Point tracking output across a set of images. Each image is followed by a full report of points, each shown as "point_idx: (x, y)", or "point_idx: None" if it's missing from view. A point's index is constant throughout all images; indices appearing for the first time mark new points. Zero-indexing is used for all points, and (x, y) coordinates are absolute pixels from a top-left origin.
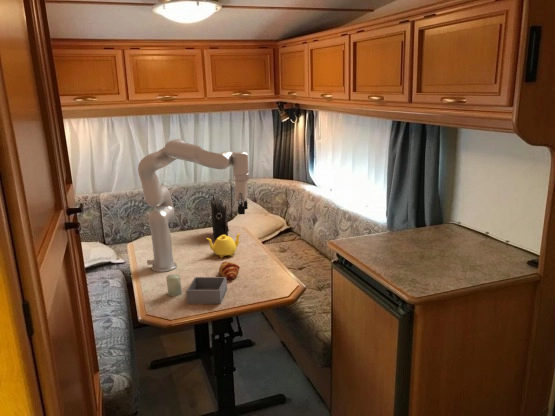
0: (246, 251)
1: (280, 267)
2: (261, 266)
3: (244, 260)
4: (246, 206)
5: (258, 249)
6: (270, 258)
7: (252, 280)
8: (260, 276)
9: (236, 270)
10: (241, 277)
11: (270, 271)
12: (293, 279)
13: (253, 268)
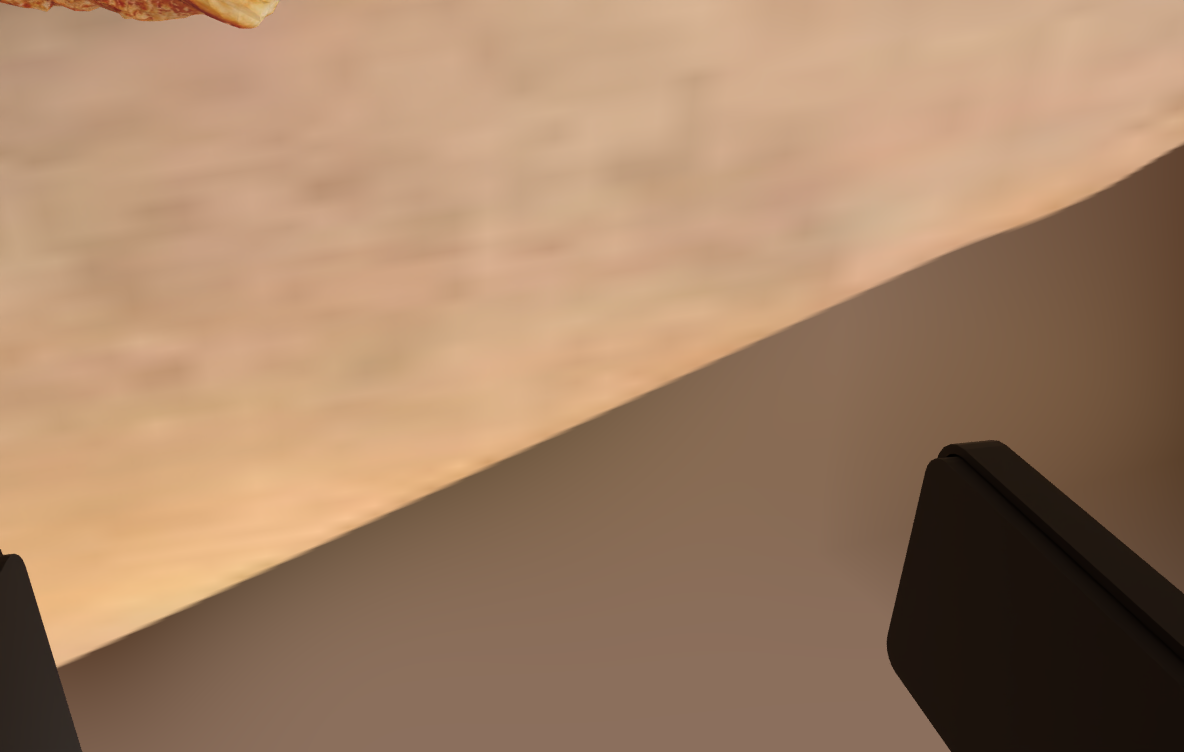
0: (1009, 4)
1: (455, 466)
2: (483, 268)
3: (696, 22)
4: (950, 722)
5: (1036, 152)
6: (726, 330)
7: (8, 230)
8: (160, 304)
9: (93, 2)
10: (81, 69)
11: (331, 388)
12: (134, 625)
13: (415, 183)
